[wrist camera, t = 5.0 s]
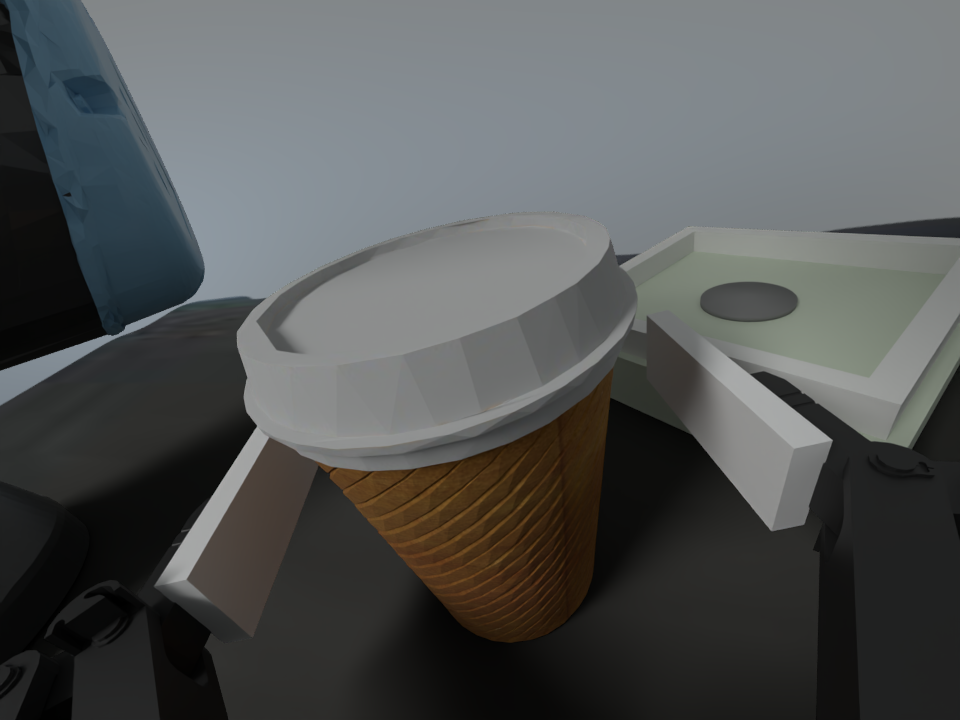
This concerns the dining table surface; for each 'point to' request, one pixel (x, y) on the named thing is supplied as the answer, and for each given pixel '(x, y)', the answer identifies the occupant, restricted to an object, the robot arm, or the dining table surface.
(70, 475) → the dining table surface
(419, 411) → the disposable coffee cup
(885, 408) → the square rimmed tray
